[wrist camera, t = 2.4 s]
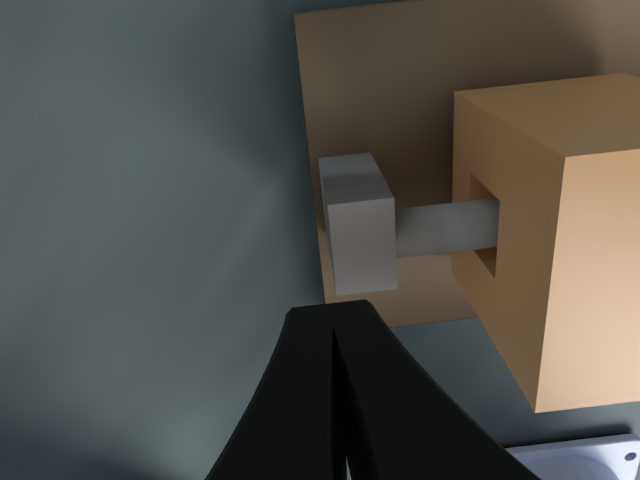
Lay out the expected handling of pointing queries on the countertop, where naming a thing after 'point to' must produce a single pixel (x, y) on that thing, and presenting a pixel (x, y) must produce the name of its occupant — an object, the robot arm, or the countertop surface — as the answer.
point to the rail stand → (425, 130)
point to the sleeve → (556, 233)
